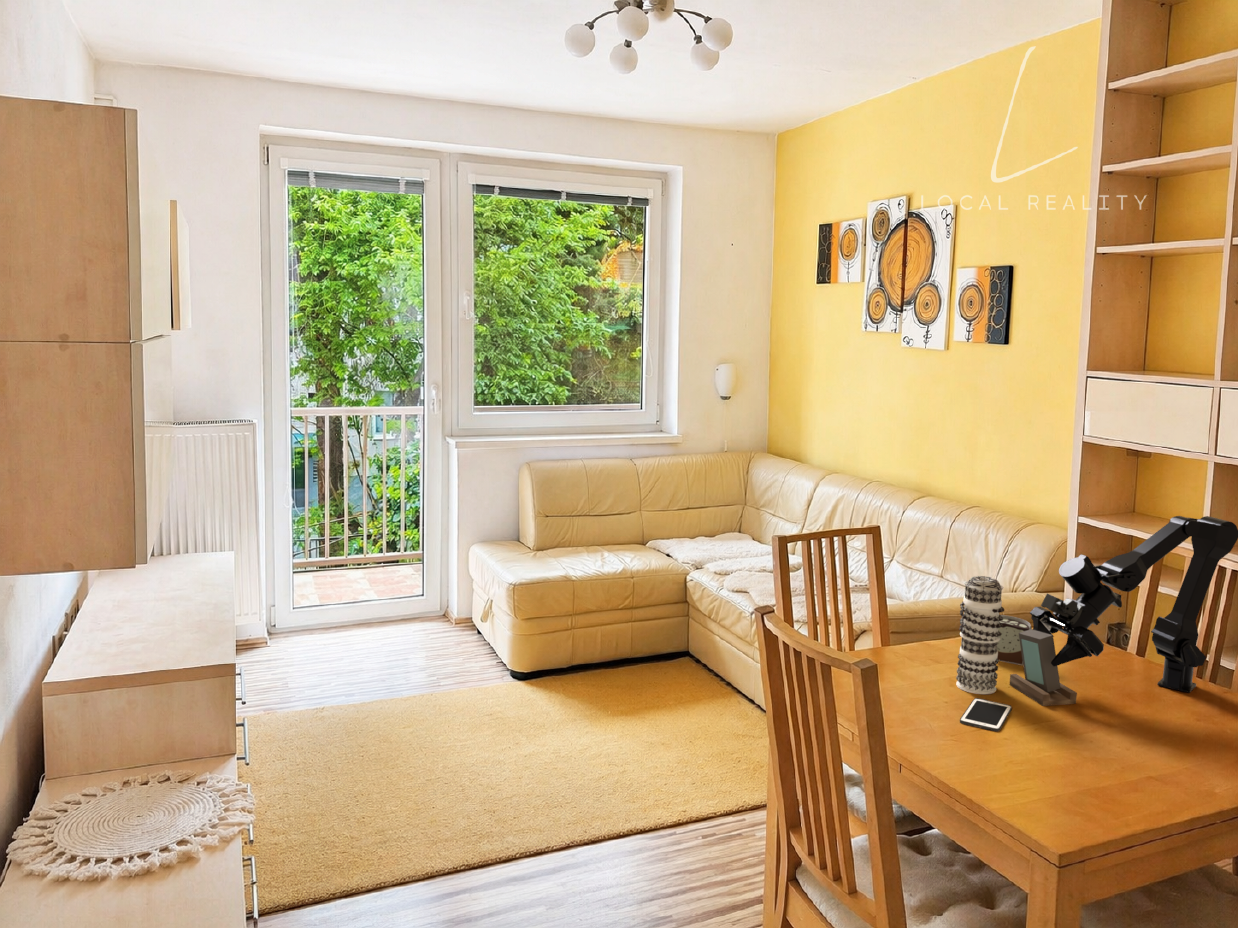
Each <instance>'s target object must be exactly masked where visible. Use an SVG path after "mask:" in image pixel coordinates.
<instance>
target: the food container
mask: <svg viewBox="0 0 1238 928" xmlns="http://www.w3.org/2000/svg"><path fill="white" fill-rule="evenodd" d="M1000 615H1001V616H1002V617H1003V620H1001V621H999V622H1000V623H1002V627H1000V628H998V631H999V632H1001V636H999V637H1000V640H999V642H998V645H997V651H998V657H997V659H998V660H999V661H998V662H1003V663H1008V664H1012V665H1019V666H1022V667H1023V660H1022V653H1021V647H1020V640H1019V633H1021V632H1024V631H1027V630H1030V629H1032V630H1033V627H1032V626H1031V623H1030V622H1029V621H1027V620H1026V619H1023V618H1020V617H1016V616H1012V615H1005V614H1000Z"/></svg>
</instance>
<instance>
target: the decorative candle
mask: <svg viewBox="0 0 1238 928" xmlns="http://www.w3.org/2000/svg"><path fill="white" fill-rule="evenodd" d="M963 584H964V587H965V588H964V589H965V590H964V596H963V600H962V602H961V603H960V605H959V606H960V610H959V615H960V616H961V618H960V619H959V624H960V625H959V628H958V630H959V631H960V632H959V635H960V637H961V639H960V640H961V641H960V644H961V645H960V647H959V654H958V655H957V658H958V660H957V665H958V668H956V673H957V675H956V676H955V677H956V678H955V679H956V682H955V684H956V687H957V688H958V689H959V690H961V691H964V692H967V693H971V694H976V695H991V694H994V693H995V692H996V691H997V687H996V686H997V685H998V684H997V683H998V680H997V679H998V673H997V671H998V670H999V669H998V668H999V666H998V664H999V662H1000V661H999V660H998V659H997V657H998V651H997V645H998V642H999V640H1000V637H999V636H1001V632H999V631H998V628H1000V627H1002V623H1000V622H999V621H1001V620H1003V617H1002V616H1001V615H1002V614H1000V613H1003V612H1005V608H1004V607H1003V606H1002V605H1003V604H1002V603H1003V601H1002V592H1003V590H1004V586H1003V585H1001V584H1000V582H999V581H998V579H997V578H994V577H991V576H985V575H984V576H983V575H977V576H971V578H969V580H968V581H965V582H964V583H963Z"/></svg>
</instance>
